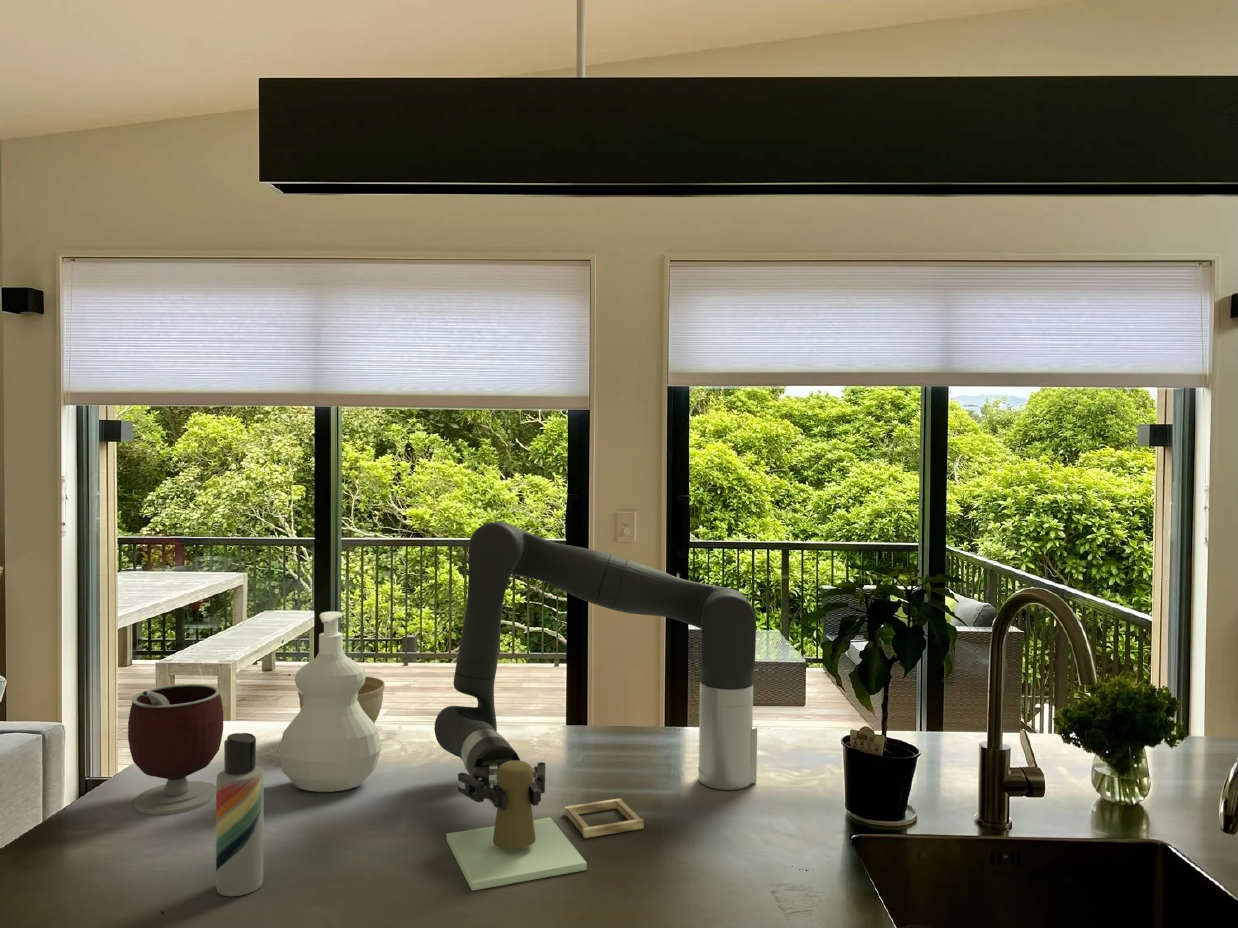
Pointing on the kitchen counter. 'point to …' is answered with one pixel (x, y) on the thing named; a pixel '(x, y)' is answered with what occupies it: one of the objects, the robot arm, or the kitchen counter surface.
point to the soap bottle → (330, 721)
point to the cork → (515, 807)
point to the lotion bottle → (239, 818)
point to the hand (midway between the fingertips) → (520, 800)
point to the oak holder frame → (606, 828)
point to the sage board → (514, 856)
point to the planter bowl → (366, 697)
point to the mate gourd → (175, 744)
